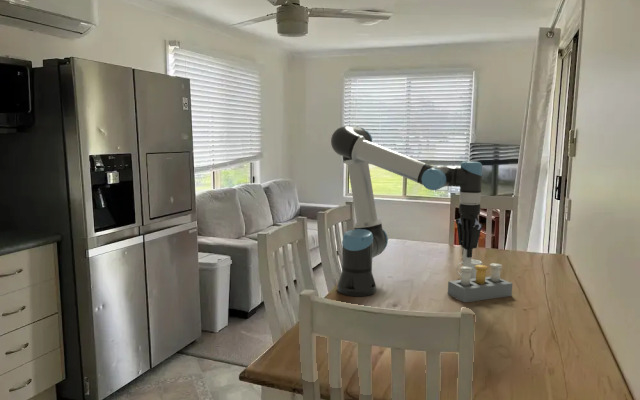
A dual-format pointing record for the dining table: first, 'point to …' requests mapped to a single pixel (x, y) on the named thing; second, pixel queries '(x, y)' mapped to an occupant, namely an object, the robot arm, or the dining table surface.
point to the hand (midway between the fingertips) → (466, 265)
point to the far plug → (495, 272)
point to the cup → (473, 263)
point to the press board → (479, 290)
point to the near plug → (465, 275)
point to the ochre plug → (480, 274)
